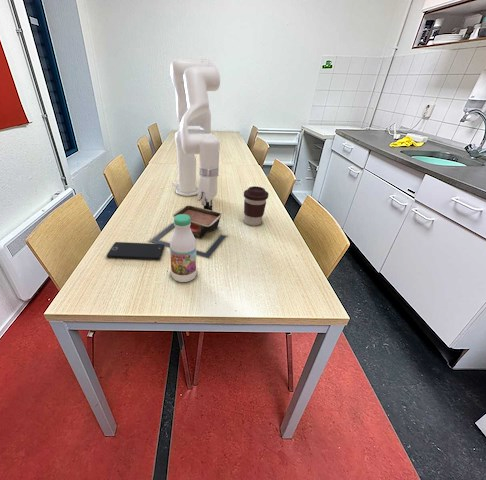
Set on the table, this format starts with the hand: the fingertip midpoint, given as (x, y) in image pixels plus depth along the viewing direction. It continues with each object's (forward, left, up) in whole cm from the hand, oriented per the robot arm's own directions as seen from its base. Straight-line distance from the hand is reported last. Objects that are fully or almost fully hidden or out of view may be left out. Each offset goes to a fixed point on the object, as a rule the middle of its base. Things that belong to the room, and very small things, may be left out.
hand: (207, 214), depth 115 cm
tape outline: (0, -16, -3) cm, 16 cm away
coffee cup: (+18, +8, -4) cm, 20 cm away
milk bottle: (+9, -37, -4) cm, 38 cm away
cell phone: (-12, -33, -3) cm, 35 cm away
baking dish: (0, -9, -4) cm, 10 cm away
